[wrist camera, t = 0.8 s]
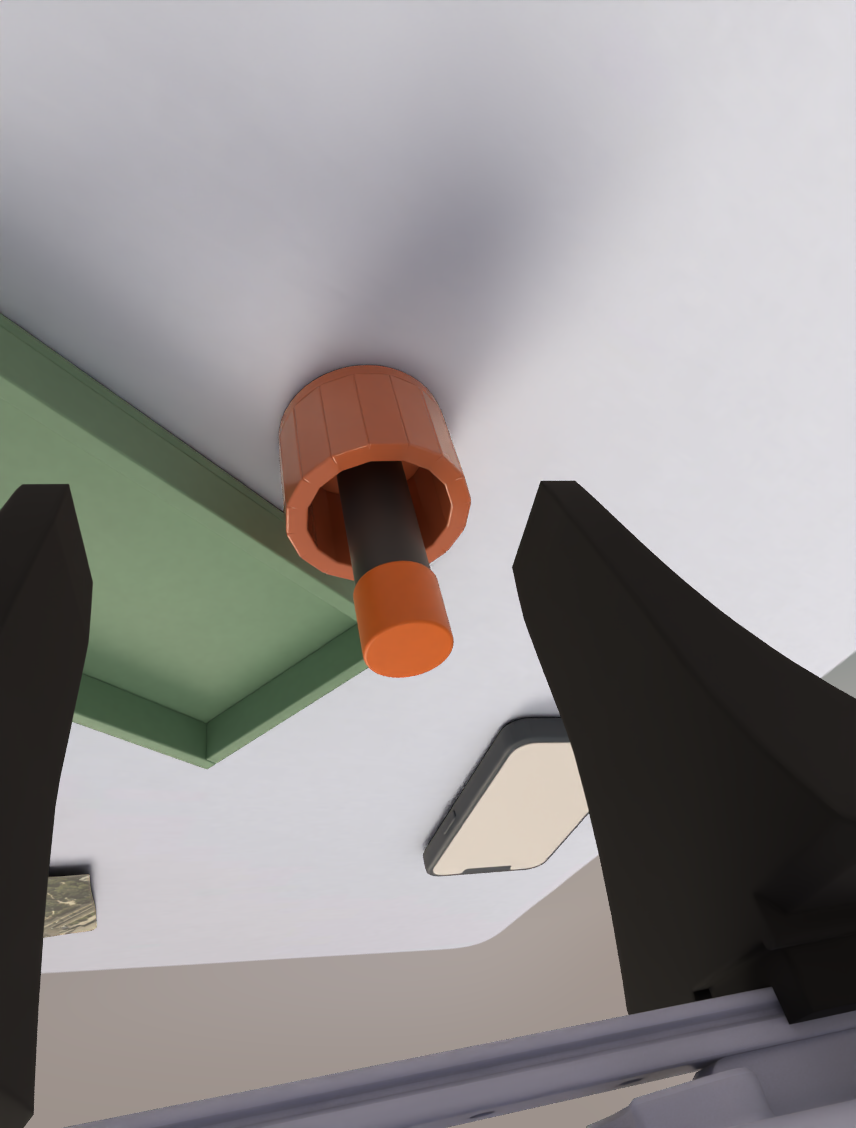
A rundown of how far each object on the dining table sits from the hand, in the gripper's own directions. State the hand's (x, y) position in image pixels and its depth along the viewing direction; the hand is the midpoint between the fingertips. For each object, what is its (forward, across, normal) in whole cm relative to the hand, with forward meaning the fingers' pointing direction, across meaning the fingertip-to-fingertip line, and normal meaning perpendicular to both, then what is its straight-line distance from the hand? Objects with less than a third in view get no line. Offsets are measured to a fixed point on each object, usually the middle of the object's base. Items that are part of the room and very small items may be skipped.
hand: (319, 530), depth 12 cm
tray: (+10, +6, +10) cm, 16 cm away
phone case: (+10, -14, +31) cm, 36 cm away
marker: (+10, -3, +6) cm, 12 cm away
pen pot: (+10, -3, +6) cm, 12 cm away
